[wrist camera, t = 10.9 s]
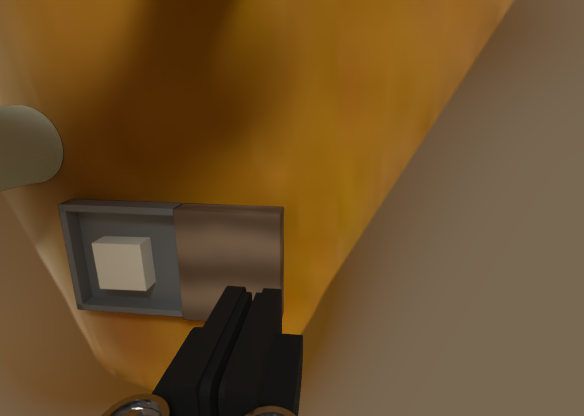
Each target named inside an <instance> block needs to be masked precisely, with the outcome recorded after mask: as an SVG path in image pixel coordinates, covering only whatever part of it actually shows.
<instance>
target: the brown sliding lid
mask: <svg viewBox="0 0 584 416" xmlns="http://www.w3.org/2000/svg"><path fill="white" fill-rule="evenodd" d="M173 212H174V223H175V234H176V245H177V255H178V266H179V277H180V288H181V299H182V310H183V319H184V320H198V321H207V319H208V317H209V316H210V314H211V312H212V310H213V309H214V307H215V305H216V303H217V302H218V300H219V298H220V297H221V295H222V293H223V291H224V290H225V288H226V287H227V286H241V287H246V292H252V301H253V299H254V296H255V294H256V292H261V293H262V290H263V288H273V289H281V290H282V316H283V282H284V207H274V206H247V205H221V204H194V203H184V204H182V205H181V206H179V207H178V208H176V209H174V210H173Z"/></svg>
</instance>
